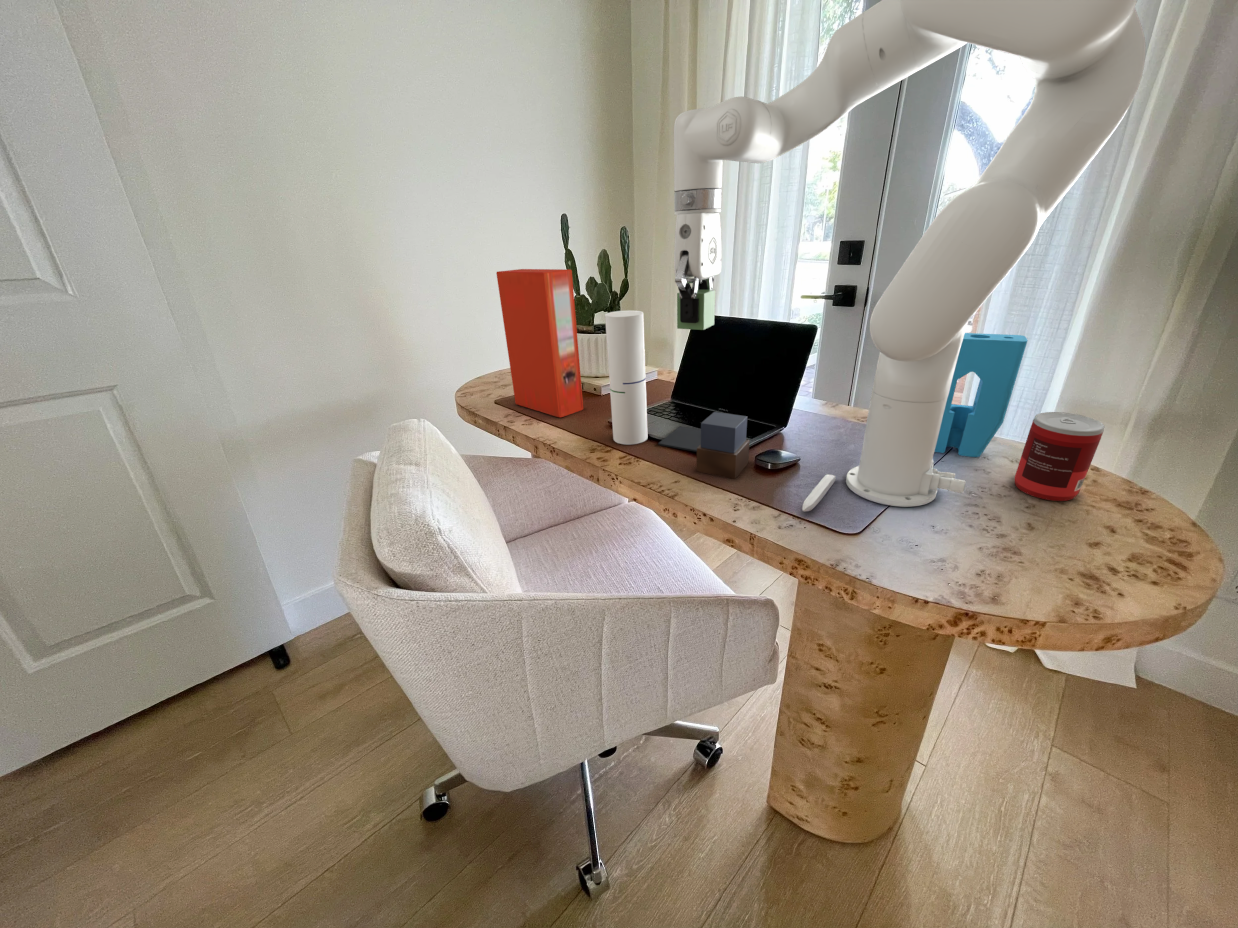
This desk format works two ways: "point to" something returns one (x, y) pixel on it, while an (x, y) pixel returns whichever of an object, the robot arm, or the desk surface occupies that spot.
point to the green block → (700, 311)
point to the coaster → (683, 439)
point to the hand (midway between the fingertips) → (696, 318)
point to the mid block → (723, 432)
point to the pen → (818, 492)
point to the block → (981, 391)
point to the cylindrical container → (627, 375)
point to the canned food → (1057, 455)
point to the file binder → (542, 339)
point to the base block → (723, 461)
